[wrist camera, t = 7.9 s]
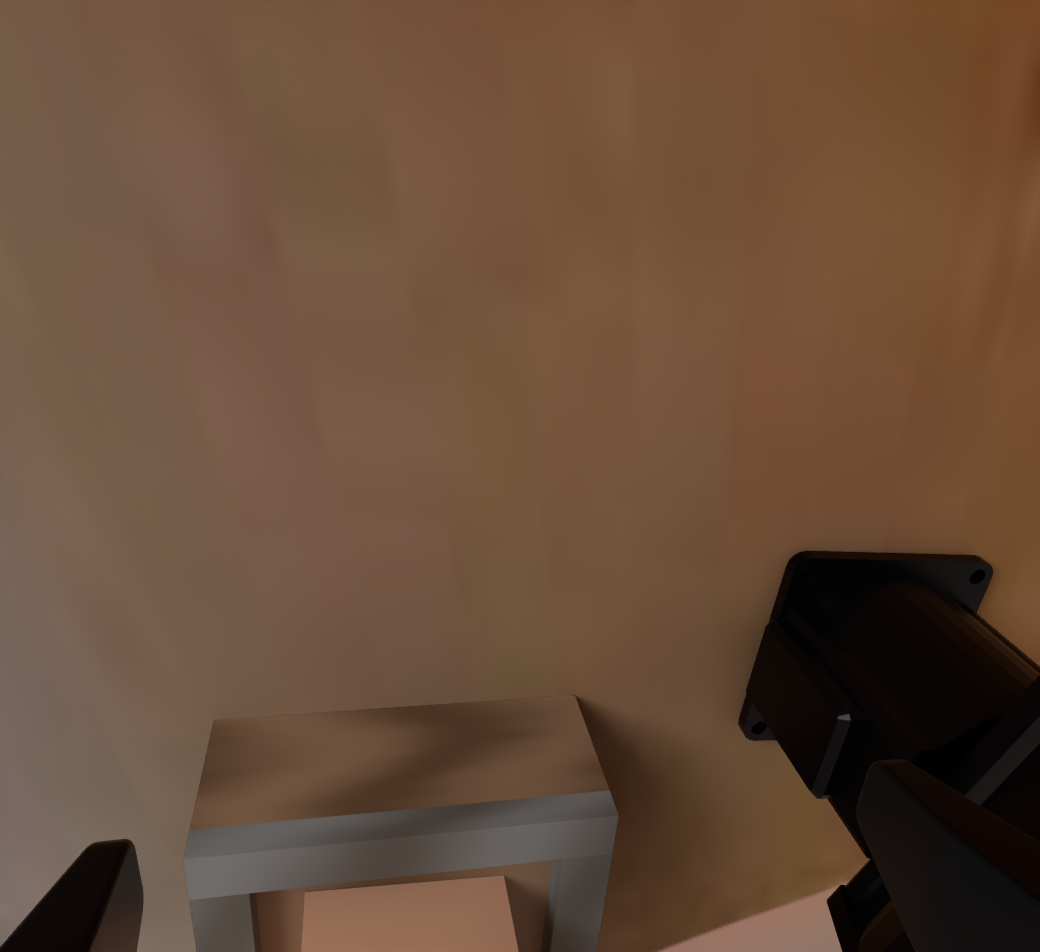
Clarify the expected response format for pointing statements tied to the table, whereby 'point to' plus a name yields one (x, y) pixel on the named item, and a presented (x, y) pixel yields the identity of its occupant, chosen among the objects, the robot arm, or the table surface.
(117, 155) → the table surface
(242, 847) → the grey square frame
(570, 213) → the table surface
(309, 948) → the top brick
